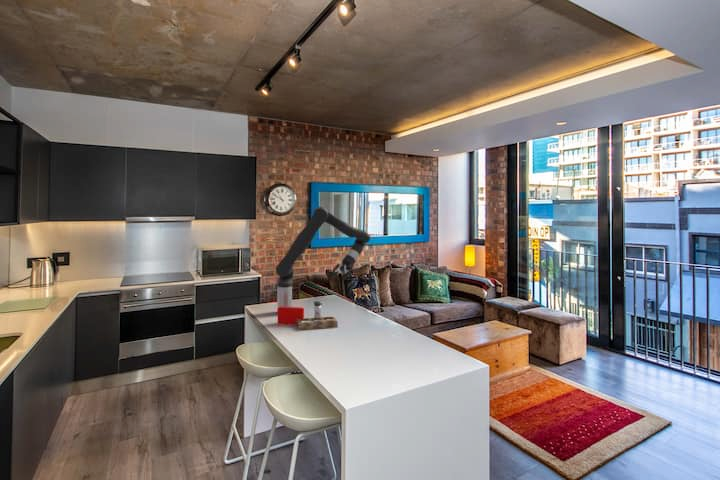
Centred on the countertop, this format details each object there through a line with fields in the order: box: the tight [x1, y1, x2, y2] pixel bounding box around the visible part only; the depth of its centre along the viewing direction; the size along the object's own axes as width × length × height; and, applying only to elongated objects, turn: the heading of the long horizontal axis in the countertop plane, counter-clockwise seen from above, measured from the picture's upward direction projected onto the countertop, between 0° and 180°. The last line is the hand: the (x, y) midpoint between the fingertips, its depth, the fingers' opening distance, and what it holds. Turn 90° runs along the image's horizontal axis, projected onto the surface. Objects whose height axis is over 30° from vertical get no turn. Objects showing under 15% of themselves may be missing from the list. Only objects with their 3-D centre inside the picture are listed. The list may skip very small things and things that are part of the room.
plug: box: [313, 300, 322, 318], centre depth 228 cm, size 5×5×11 cm
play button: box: [277, 306, 305, 326], centre depth 218 cm, size 15×3×10 cm, turn 84°
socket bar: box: [296, 315, 339, 331], centre depth 215 cm, size 22×10×4 cm, turn 109°
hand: (337, 279), depth 226 cm, fingers open, 8 cm apart
